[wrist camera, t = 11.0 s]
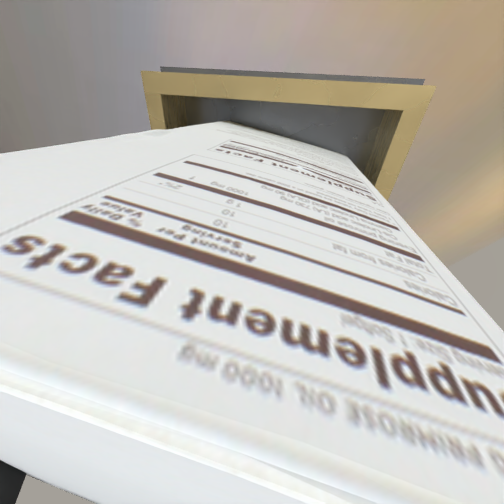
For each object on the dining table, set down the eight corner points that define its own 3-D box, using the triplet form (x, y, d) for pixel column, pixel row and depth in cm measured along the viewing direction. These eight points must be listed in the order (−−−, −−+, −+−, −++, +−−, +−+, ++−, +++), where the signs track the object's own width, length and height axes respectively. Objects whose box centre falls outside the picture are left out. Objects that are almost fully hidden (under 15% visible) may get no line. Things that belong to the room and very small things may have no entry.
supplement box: (302, 260, 20) (294, 582, 7) (209, 231, 21) (15, 478, 7) (353, 152, 15) (1004, 795, 1) (224, 114, 15) (-624, 203, 1)
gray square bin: (208, 234, 28) (173, 279, 21) (197, 76, 19) (130, 58, 12) (335, 254, 26) (346, 312, 19) (390, 87, 17) (454, 72, 10)
